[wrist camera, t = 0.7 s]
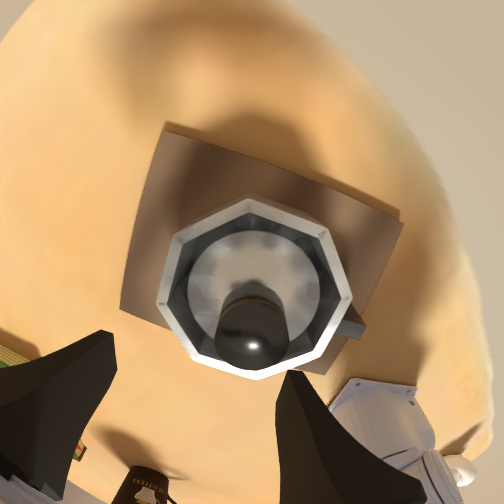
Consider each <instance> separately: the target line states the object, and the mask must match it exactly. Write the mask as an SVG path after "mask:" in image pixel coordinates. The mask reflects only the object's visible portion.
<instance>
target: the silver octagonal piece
mask: <svg viewBox="0 0 504 504" xmlns="http://www.w3.org/2000/svg"><path fill="white" fill-rule="evenodd" d="M246 229H262V230H268V231H272V232H275V233H278V234H280V235H283V236H285V237H287V238H288V239H290V240H292V241H293V242H294V243H296V244H297V245H298V246H299V247H300V248H301V249H302V250H303V251H304V252H305V253H306V255H307V256H308V258H309V259H310V261H311V262H312V264H313V266H314V268H315V270H316V273H317V276H318V280H319V286H320V297H319V303H318V307H317V310H316V313H315V315H314V317H313V319H312V321H311V322H310V324H309V325H308V326H307V328H306V329H305V330H304V331H303V332H302V333H301V334H300V335H299V336H297V337H296V338H295V339H293V340H292V341H290V342H289V348H288V351H287V353H286V354H285V356H284V357H283V359H282V360H281V361H279V362H278V363H277V364H275V365H274V366H272V367H270V368H267V369H264V370H259V371H246V370H241V369H238V368H235V367H233V366H231V365H229V364H228V363H226V362H225V361H224V360H223V359H222V358H221V357H220V356H219V354H218V352H217V350H216V348H215V344H214V339H213V338H212V337H211V336H209V335H208V334H207V333H206V332H205V331H204V330H203V329H202V328H201V327H200V325H199V324H198V323H197V321H196V319H195V318H194V316H193V314H192V311H191V308H190V305H189V301H188V281H189V276H190V273H191V271H192V268H193V266H194V264H195V262H196V261H197V259H198V258H199V256H200V255H201V254H202V252H203V251H204V250H205V249H206V248H207V247H208V246H209V245H210V244H211V243H213V242H214V241H215V240H217V239H219V238H220V237H222V236H224V235H227V234H229V233H232V232H235V231H239V230H246ZM352 297H353V296H352V293H351V290H350V287H349V284H348V281H347V279H346V276H345V273H344V270H343V267H342V264H341V262H340V259H339V256H338V253H337V251H336V248H335V245H334V243H333V240H332V238H331V235H330V232H329V230H328V229H327V228H326V227H325V226H324V225H323V224H321V223H320V222H319V221H318V220H316V219H315V218H314V217H312V216H311V215H310V214H308V213H306V212H303V211H301V210H298V209H296V208H293V207H290V206H288V205H285V204H282V203H280V202H277V201H274V200H272V199H269V198H266V197H264V196H261V195H258V194H255V193H253V192H249V193H247V194H245V195H243V196H241V197H239V198H237V199H234V200H232V201H230V202H228V203H226V204H224V205H222V206H220V207H218V208H216V209H214V210H212V211H210V212H208V213H206V214H204V215H202V216H200V217H198V218H196V219H194V220H193V221H191V222H190V223H189V224H187V225H186V226H185V227H183V228H182V229H181V230H179V231H178V232H176V233H175V234H174V235H173V237H172V241H171V244H170V248H169V252H168V255H167V259H166V263H165V267H164V271H163V275H162V279H161V283H160V287H159V292H158V296H157V300H156V306H157V307H158V309H159V310H160V312H161V314H162V315H163V317H164V318H165V320H166V321H167V323H168V325H169V326H170V328H171V329H172V331H173V332H174V334H175V335H176V337H177V338H178V340H179V341H180V343H181V344H182V346H183V347H184V348H185V350H186V351H187V353H188V354H189V356H190V357H191V358H192V360H194V361H197V362H200V363H203V364H206V365H209V366H212V367H215V368H219V369H222V370H225V371H228V372H232V373H235V374H239V375H242V376H246V377H250V378H253V379H260V378H263V377H266V376H269V375H272V374H275V373H278V372H281V371H284V370H287V369H289V368H292V367H295V366H297V365H300V364H303V363H305V362H308V361H310V360H313V359H315V358H318V357H320V356H321V355H322V353H323V351H324V350H325V348H326V346H327V344H328V343H329V341H330V339H331V337H332V336H333V334H334V333H335V334H339V335H342V336H346V337H350V338H354V339H357V340H359V338H360V337H361V335H362V333H363V332H364V330H365V328H366V325H365V323H364V322H363V320H362V318H361V317H360V315H359V314H358V312H357V311H356V309H355V308H354V306H353V305H352V303H351V300H352V299H353V298H352Z"/></svg>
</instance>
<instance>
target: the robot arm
mask: <svg viewBox="0 0 504 504" xmlns="http://www.w3.org/2000/svg"><path fill="white" fill-rule="evenodd" d="M116 372H117V363H116V355H115V346H114V336H113V333H110V332H107V331H104V330H99V331H97V332H95V333H93V334H91V335H89V336H87V337H85V338H83V339H81V340H79V341H77V342H75V343H73V344H71V345H69V346H67V347H64V348H62V349H60V350H58V351H55V352H53V353H51V354H48V355H46V356H44V357H41V358H38V359H35V360H32V361H29V362H26V363H22V364H18V365H13V366H8V367H3V368H0V504H57V503H55V502H54V501H60V500H62V499H63V493H64V489H65V484H66V479H67V476H68V472H69V469H70V465H71V462H72V459H73V456H74V453H75V450H76V448H77V445H78V443H79V440H80V438H81V435H82V433H83V431H84V429H85V427H86V425H87V423H88V422H89V420H90V418H91V417H92V415H93V413H94V412H95V410H96V409H97V407H98V405H99V404H100V402H101V401H102V399H103V397H104V396H105V394H106V393H107V391H108V389H109V387H110V385H111V383H112V381H113V379H114V376H115V374H116ZM357 383H358V384H357ZM417 391H418V388H417V387H415V386H407V385H399V384H391V383H385V382H378V381H372V380H366V379H360V378H352V379H350V380H349V381H348V382H347V384H346V385H345V387H344V388H343V389H342V391H341V392H340V393H339V395H338V396H337V397H336V399H335V400H334V401H333V403H332V404H331V405H330V407H329V408H327V406H326V405H325V404H324V402H323V401H322V400H321V398H320V397H319V395H318V394H317V392H316V391H315V389H314V388H313V386H312V385H311V383H310V382H309V380H308V379H307V377H306V375H305V374H304V373H303V371H297V370H287V373H286V376H285V379H284V382H283V384H282V387H281V390H280V393H279V396H278V398H277V401H276V412H275V426H276V436H277V445H278V454H279V463H280V504H463V500H462V498H461V495H460V493H459V489H458V486H457V483H456V481H455V479H454V477H453V474H452V472H451V471H450V469H449V467H448V465H447V463H446V462H445V460H444V458H443V457H442V455H441V454H440V453H439V451H438V450H434V447H435V434H434V430H433V428H432V426H431V424H430V423H429V421H428V419H427V417H426V416H425V414H424V412H423V410H422V409H421V407H420V405H419V404H418V402H417V400H416V398H415V397H414V395H415V394H416V393H417ZM32 487H33V488H34V489H33V488H32ZM35 489H36V490H37V491H39V492H41V493H43V494H44V495H46V496H47V497H49V498H51V499H53V500H54V501H52V500H50V499H49V498H47V497H45V496H44V495H42V494H41V493H39V492H37V491H36V490H35Z"/></svg>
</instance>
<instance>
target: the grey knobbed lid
mask: <svg viewBox="0 0 504 504" xmlns="http://www.w3.org/2000/svg"><path fill="white" fill-rule="evenodd" d="M319 297H320V286H319V280H318V276H317V273H316V270H315V268H314V266H313V264H312V262H311V261H310V259H309V258H308V256H307V255H306V253H305V252H304V251H303V250H302V249H301V248H300V247H299V246H298V245H297V244H296V243H294V242H293V241H292V240H290V239H288V238H287V237H285V236H283V235H280V234H278V233H275V232H272V231H268V230H262V229H246V230H239V231H235V232H232V233H229V234H227V235H224V236H222V237H220V238H219V239H217V240H215V241H214V242H213V243H211V244H210V245H209V246H208V247H207V248H206V249H205V250H204V251H203V252H202V254H201V255H200V256H199V258H198V259H197V261H196V262H195V264H194V266H193V268H192V271H191V273H190V276H189V281H188V301H189V305H190V308H191V311H192V314H193V316H194V318H195V319H196V321H197V323H198V324H199V325H200V327H201V328H202V329H203V330H204V331H205V332H206V333H207V334H208V335H209V336H211V337H212V338H213V339H214V344H215V348H216V350H217V352H218V354H219V356H220V357H221V358H222V359H223V360H224V361H225V362H226V363H228V364H229V365H231V366H233V367H235V368H238V369H241V370H246V371H259V370H264V369H267V368H270V367H272V366H274V365H275V364H277V363H278V362H279V361H281V360H282V359H283V357H284V356H285V354H286V353H287V351H288V348H289V342H290V341H292V340H293V339H295V338H296V337H297V336H299V335H300V334H301V333H302V332H303V331H304V330H305V329H306V328H307V326H308V325H309V324H310V322H311V321H312V319H313V317H314V315H315V313H316V310H317V307H318V303H319Z"/></svg>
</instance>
